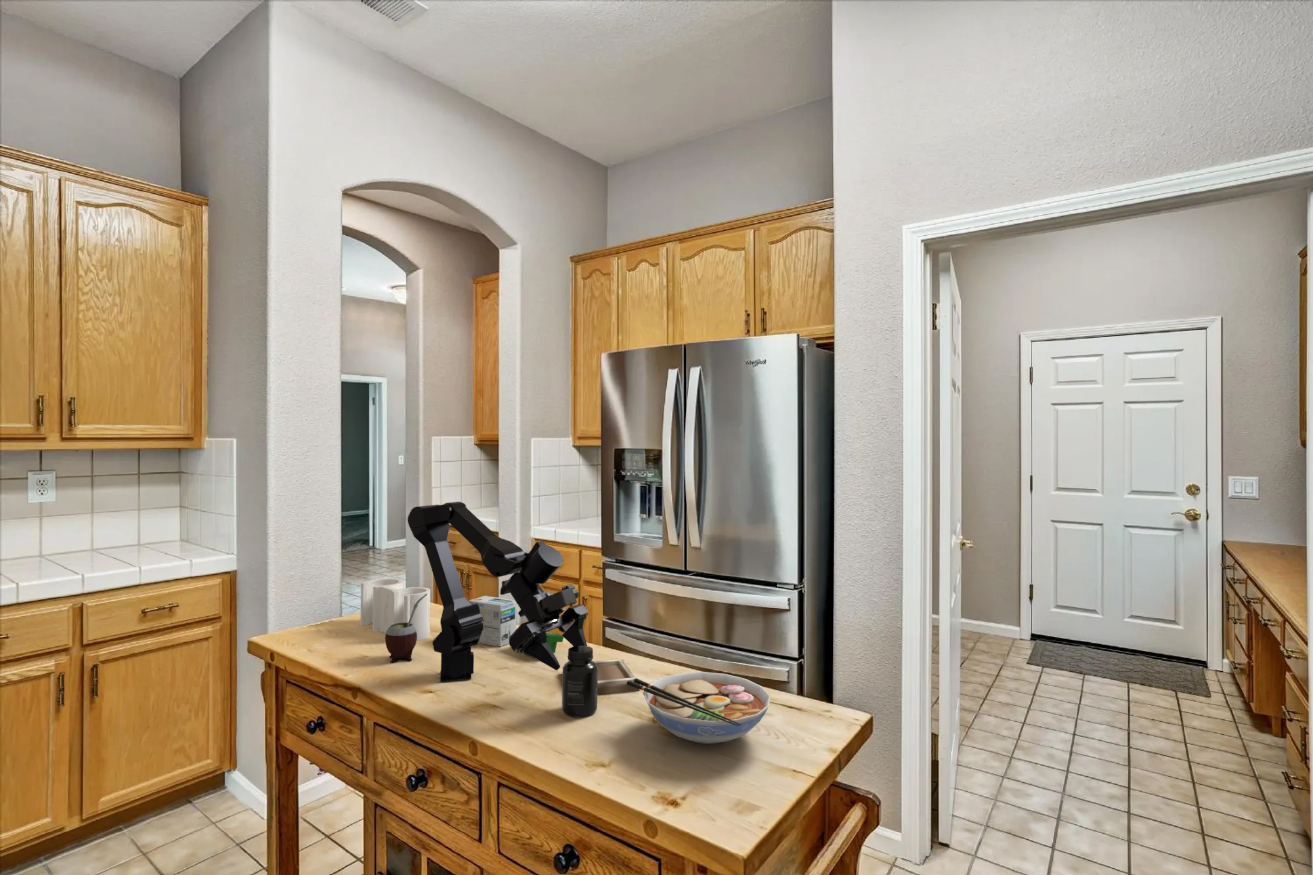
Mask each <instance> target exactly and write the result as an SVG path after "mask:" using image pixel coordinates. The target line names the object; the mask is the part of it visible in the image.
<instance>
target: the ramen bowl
mask: <svg viewBox="0 0 1313 875" xmlns="http://www.w3.org/2000/svg"><path fill="white" fill-rule="evenodd" d="M634 682H635V683H634ZM634 682H632V681H627V685H629V686H632V687H634V688H637V689H640V690H639V691H643V692H642V695H643V696H644V699H645V700H646V704H647V705H648V708H649V710H650V712H651V713H652V715H653V717H654V719H655V720H656V721H657V722H658V724H659V725H660V726H662V727H663V728H664V729H666V730H667V731H668V732H670V733H671V734H673V735H675V736H676V737H679V738H682V739H685V740H688V741H690V742H695V743H697V744H703V745H716V744H720V743H724V742H725V743H726V742H729V741H733V740H736V739H739V738H742V737H743V736H745V735H746V734H748V733H749V732H750V731H751V730H752V729H754V728H755V727H756V726H757V725H758V724H759V723H760V721H761V720H762V719H763V717H764V716H765V714H766V712H767V710H769V707H770V704H771V695H770V694H769V693H768V691H767V690H765V688H764V687H763V686H761V685H760V684H757V683H755V682H753V681H751V680H749V679H746V678H743V677H739V676H736V675H735V676H734V675H731V674H727V673H718V672H709V671H696V672H695V671H694V672H692V671H691V672H679V673H674V674H671V675H665V676H660V678H657V679H656V680H653V681H652V682H650V683H648V682H647V681H643V680H642V679H639V678H638V677H636V679H634ZM639 684H640V685H639Z"/></svg>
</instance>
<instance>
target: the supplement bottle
mask: <svg viewBox="0 0 1313 875" xmlns="http://www.w3.org/2000/svg"><path fill="white" fill-rule="evenodd" d="M593 654H594V650H593V648H592V647H591V646H589V645H587V646H571V647H569V648H568V649H567V660H568V661H566V662H565V664H564V665H563V666H562V678H561V680H562V682H561V684H562V685H561V686H562V687H561V688H562V689H561V692H562V693H561V710H562V712H563V714H564V715H565V716H568V717H572V718H584V717H589V716H592V715H593V714H595V713H596V712H597V710H598V695H597V691H598V667H597V665H596V663H595V662H594V661H595V660H594V661H593V659H594V655H593Z"/></svg>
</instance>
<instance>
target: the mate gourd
mask: <svg viewBox="0 0 1313 875" xmlns="http://www.w3.org/2000/svg"><path fill="white" fill-rule="evenodd" d="M426 595H427V594H425V595H424V596H423V597H421V598H420V599H419V600H418V601H417V602H416V604H415V605H414V608H413V611H412V614H411V617H410V619H409V622H408V623H396V624H392V625H391V626H390V627H389V628H388V629H387V631H386V633H385V634H384V635H385V636H384V641H385V647H386V649H387V652H388V653H389V654H390V655H389V659H391V660H390V661H389V663H390V664H395V663H397V662H399V661H404V662H412V661H413V658H412V655H413V651H414V649H415V647H416V644H417V632H416V628H415V626H414V625H413V624H412V623H411V620H412V618H413V615H414V612H415V610H416V608H417V606H418V603H419V602H420V601H421V600H422V599H423V598H424V597H425V596H426Z"/></svg>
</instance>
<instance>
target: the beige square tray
mask: <svg viewBox="0 0 1313 875" xmlns="http://www.w3.org/2000/svg"><path fill="white" fill-rule="evenodd" d="M594 662H595V663H596V665H597V667H598V691H597V696H598V694H599V696H600V695H610V694H619V693H618V692H621V693H629V692H637V691H638V692H639V691H641V690H640V689H637V688H634V687H632V686H629V685H627V681H632V682H634V679H636V678H637V677H636V676H635V675H634V673H633V672H632V671H631V669H630V667H629V666H628V665H627V664H626V663H625V661H624V660H623V659H622V658H618V659H607V660H594ZM634 683H635V682H634ZM639 685H640V684H639Z"/></svg>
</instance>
